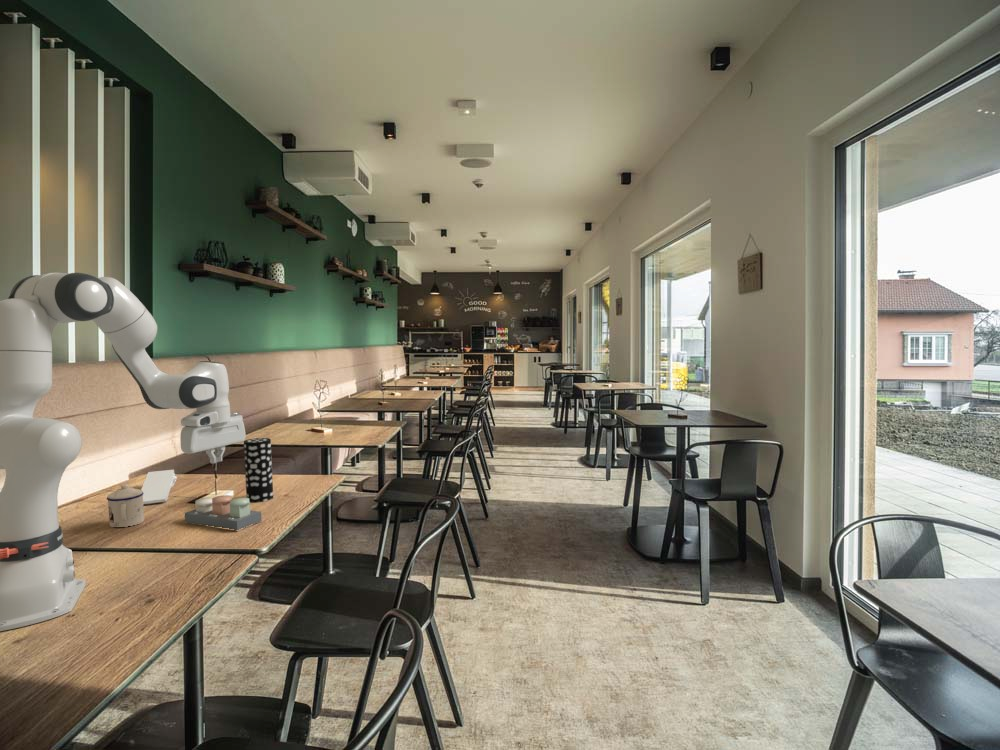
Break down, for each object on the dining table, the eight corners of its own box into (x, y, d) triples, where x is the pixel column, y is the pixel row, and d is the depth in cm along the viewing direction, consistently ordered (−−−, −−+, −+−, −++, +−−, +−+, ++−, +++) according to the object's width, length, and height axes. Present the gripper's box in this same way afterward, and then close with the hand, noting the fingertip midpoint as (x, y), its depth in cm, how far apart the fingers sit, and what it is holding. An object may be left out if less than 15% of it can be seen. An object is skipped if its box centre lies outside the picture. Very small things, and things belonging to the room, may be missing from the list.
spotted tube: (277, 498, 192) (274, 439, 191) (253, 504, 186) (250, 443, 185) (266, 493, 198) (263, 437, 196) (242, 499, 192) (239, 440, 190)
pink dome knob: (236, 512, 170) (235, 496, 169) (221, 517, 165) (221, 501, 165) (223, 510, 172) (222, 494, 171) (209, 515, 167) (208, 499, 167)
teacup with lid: (111, 521, 171) (108, 483, 170) (146, 516, 175) (144, 479, 174) (104, 534, 160) (101, 493, 159) (142, 528, 164) (140, 489, 163)
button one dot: (219, 514, 173) (218, 498, 172) (204, 519, 168) (203, 503, 168) (207, 512, 175) (206, 496, 174) (192, 517, 170) (191, 501, 170)
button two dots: (254, 515, 167) (253, 498, 167) (239, 520, 162) (238, 503, 162) (240, 513, 169) (240, 496, 169) (226, 518, 164) (225, 501, 164)
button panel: (261, 521, 169) (261, 511, 168) (237, 531, 161) (236, 520, 160) (210, 513, 177) (209, 503, 177) (185, 522, 169) (184, 512, 168)
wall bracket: (166, 520, 189) (174, 488, 214) (170, 499, 189) (178, 470, 214) (131, 517, 185) (144, 485, 210) (136, 496, 184) (148, 466, 209)
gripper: (234, 410, 177) (236, 454, 179) (175, 420, 158) (178, 469, 160) (249, 411, 175) (251, 455, 176) (191, 421, 156) (194, 471, 157)
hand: (216, 462), depth 168 cm, fingers closed
